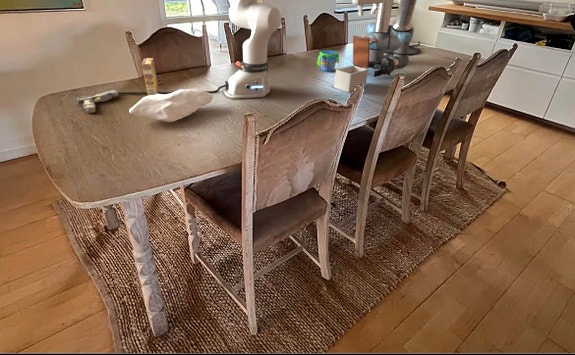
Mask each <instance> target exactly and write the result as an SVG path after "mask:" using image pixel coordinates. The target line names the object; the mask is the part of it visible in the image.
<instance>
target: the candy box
mask: <svg viewBox="0 0 575 355" xmlns="http://www.w3.org/2000/svg"><path fill="white" fill-rule="evenodd" d="M141 66H142V73H143V78H144V82H145V87H146V92H147V93H148V94H147V96H150V95H156V94H158V92H160V90H159V84H158V79H157V73H156V66H155V62H154V58H153V57H151V58H150V57H149V58H146V57H145V58H143V60H142V63H141Z"/></svg>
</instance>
